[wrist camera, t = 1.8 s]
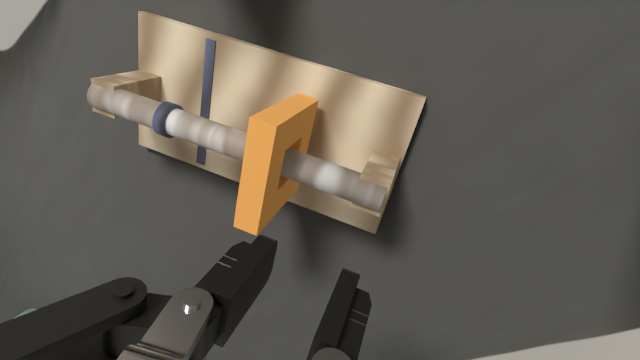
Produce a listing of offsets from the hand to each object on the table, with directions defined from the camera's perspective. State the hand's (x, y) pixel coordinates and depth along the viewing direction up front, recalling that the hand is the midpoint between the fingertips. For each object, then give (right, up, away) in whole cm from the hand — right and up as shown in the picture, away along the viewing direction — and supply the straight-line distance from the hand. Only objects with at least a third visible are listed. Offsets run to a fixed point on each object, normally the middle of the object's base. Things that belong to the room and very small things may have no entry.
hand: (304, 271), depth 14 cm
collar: (-1, +7, +19) cm, 21 cm away
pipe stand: (-5, +9, +22) cm, 24 cm away
